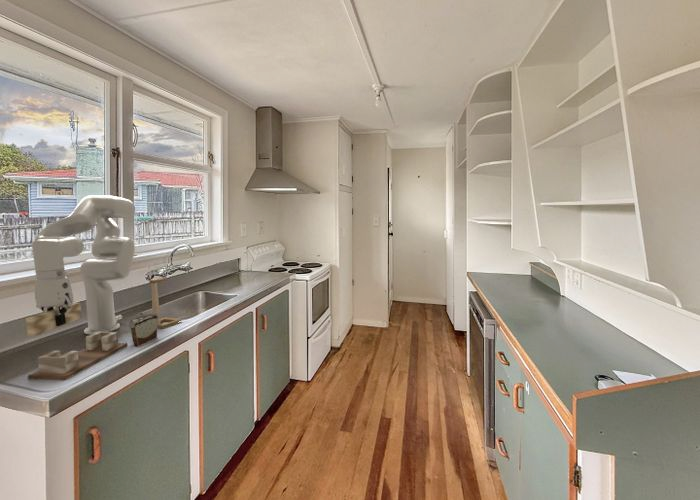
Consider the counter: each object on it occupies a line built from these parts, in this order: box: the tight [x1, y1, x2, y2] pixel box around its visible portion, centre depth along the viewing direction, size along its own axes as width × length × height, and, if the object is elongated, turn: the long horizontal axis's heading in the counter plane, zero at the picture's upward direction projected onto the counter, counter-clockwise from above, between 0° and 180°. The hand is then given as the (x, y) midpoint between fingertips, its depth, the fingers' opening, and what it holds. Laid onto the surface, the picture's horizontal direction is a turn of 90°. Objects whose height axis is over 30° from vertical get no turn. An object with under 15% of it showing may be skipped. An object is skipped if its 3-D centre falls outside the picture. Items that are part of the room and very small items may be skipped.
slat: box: [25, 302, 83, 337], centre depth 116 cm, size 18×2×6 cm, turn 177°
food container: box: [127, 313, 159, 348], centre depth 130 cm, size 12×6×10 cm, turn 168°
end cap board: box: [27, 331, 128, 381], centre depth 113 cm, size 26×12×6 cm, turn 177°
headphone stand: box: [148, 276, 182, 330], centre depth 150 cm, size 10×11×22 cm
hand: (56, 324), depth 116 cm, fingers closed on slat, 2 cm apart
